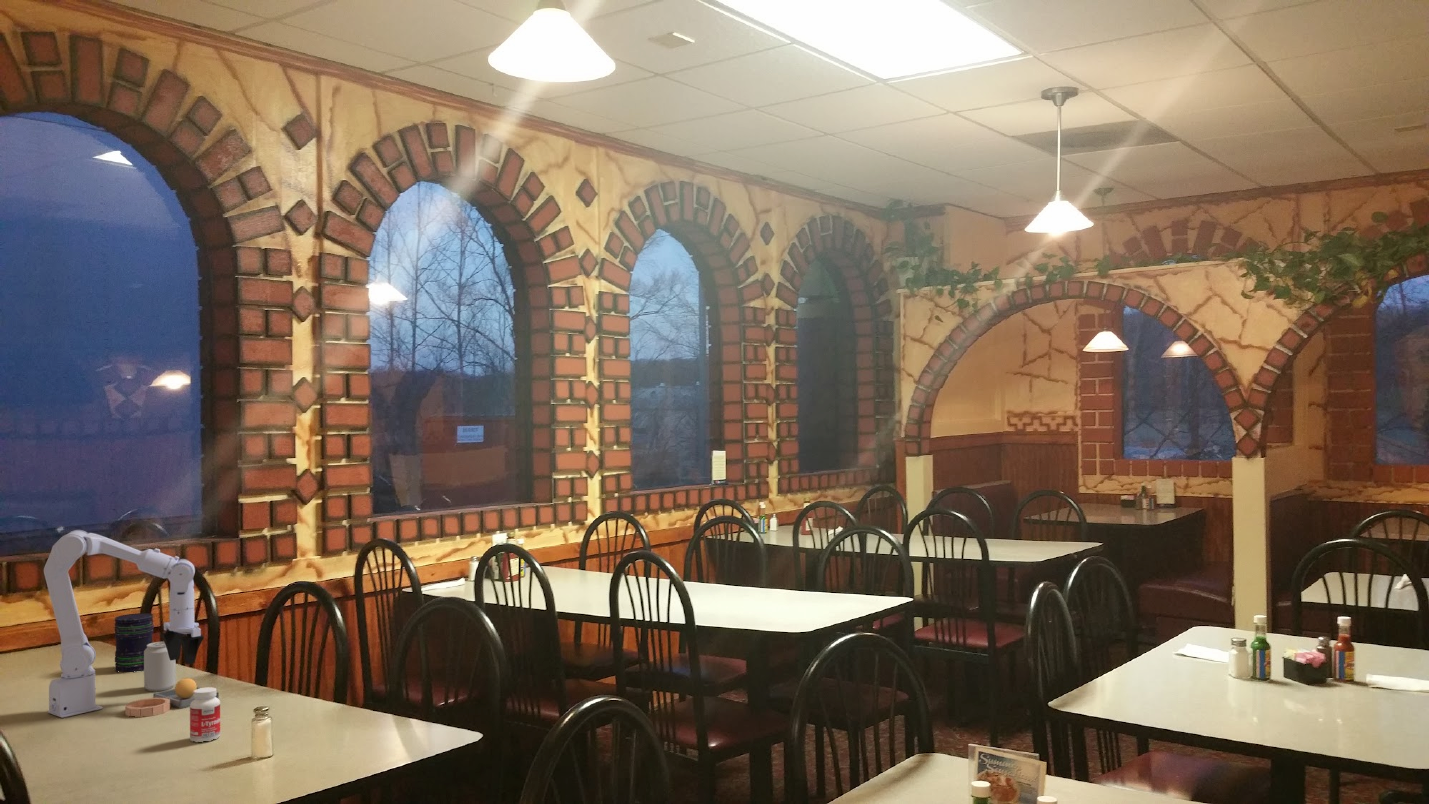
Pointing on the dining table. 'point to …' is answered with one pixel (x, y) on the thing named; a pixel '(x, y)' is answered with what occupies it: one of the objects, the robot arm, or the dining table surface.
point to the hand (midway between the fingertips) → (182, 661)
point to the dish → (147, 707)
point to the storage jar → (132, 640)
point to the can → (158, 668)
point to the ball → (185, 688)
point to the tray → (177, 698)
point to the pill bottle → (204, 715)
